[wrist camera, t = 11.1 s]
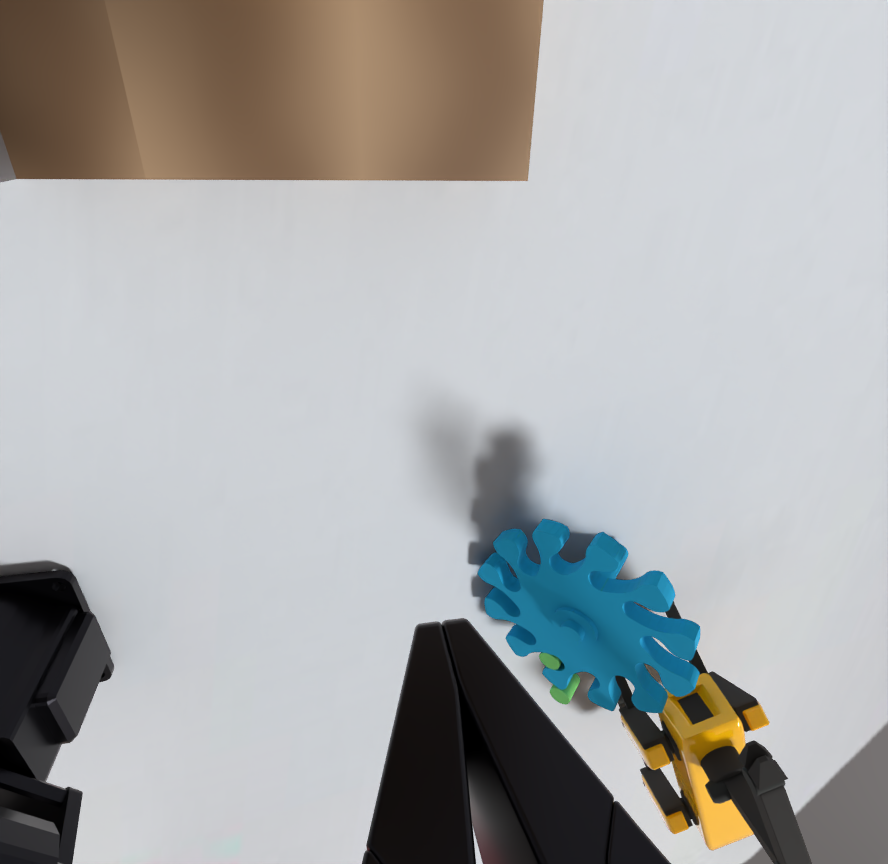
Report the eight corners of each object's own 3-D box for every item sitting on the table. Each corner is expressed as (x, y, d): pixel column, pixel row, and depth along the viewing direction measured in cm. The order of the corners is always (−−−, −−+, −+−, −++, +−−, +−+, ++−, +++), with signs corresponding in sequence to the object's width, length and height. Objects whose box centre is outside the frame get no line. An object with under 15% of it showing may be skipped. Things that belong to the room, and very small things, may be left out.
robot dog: (658, 501, 27) (904, 789, 15) (696, 694, 36) (866, 961, 25) (550, 546, 27) (713, 864, 15) (616, 727, 36) (748, 1006, 25)
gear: (485, 499, 22) (739, 634, 18) (549, 432, 26) (768, 531, 22) (458, 647, 29) (639, 771, 25) (512, 576, 33) (676, 672, 29)
